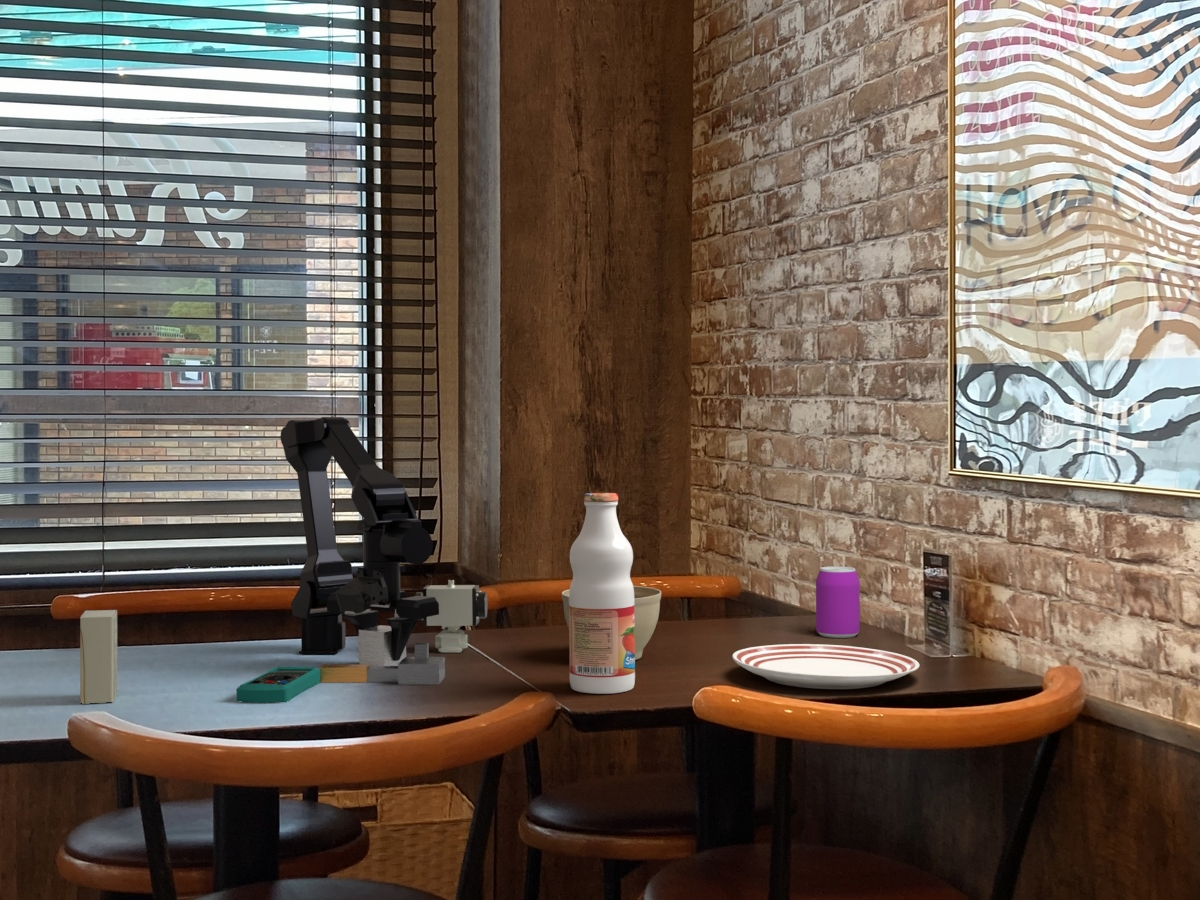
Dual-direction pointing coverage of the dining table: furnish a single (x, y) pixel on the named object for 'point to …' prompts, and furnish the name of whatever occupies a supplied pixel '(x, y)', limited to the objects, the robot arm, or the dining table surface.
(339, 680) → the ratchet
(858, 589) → the beverage can
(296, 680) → the digital multimeter
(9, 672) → the dining table surface
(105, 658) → the skincare box
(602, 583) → the fruit juice
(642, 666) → the dining table surface
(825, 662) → the dinner plate
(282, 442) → the robot arm
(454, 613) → the pneumatic valve
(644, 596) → the planter bowl
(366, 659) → the plain white cube
